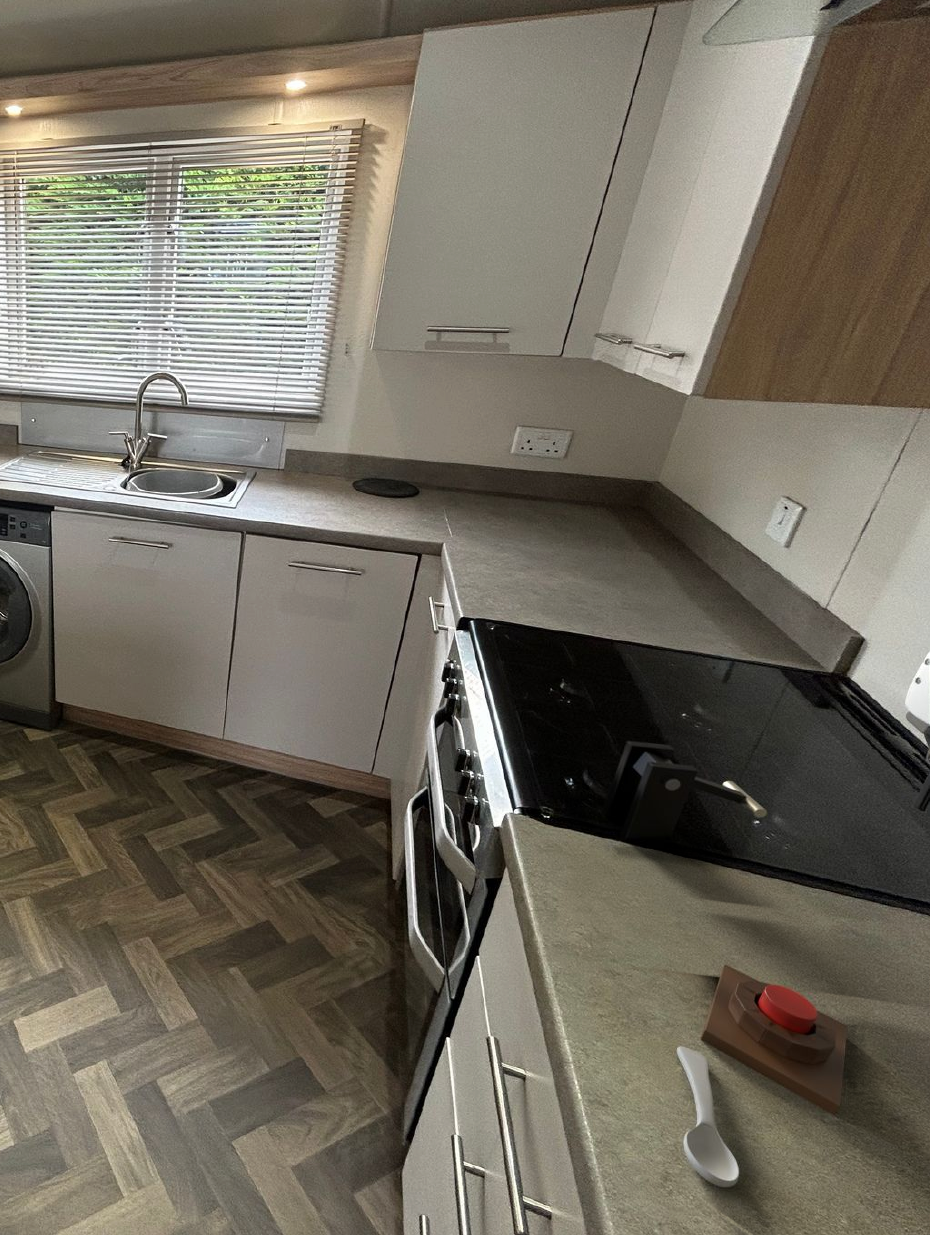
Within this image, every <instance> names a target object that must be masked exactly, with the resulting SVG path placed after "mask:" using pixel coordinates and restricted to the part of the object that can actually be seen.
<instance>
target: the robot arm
mask: <svg viewBox="0 0 930 1235" xmlns="http://www.w3.org/2000/svg"><path fill="white" fill-rule="evenodd" d="M904 701H905V702H904V703H905V704H904V705H905V708H906V709H907V710H908V711H907V713H906V714H905V719H906V721H907V722H909V723H910V725H912V726H913V727H914V728H915V729H916V730H918V731H919V733H921V734H923V736H924V739H925V742H926V744H927V747H928V749H927V753H926V756H925V760H926V763H927V764H928V765H929V766H930V651H929V652H928V653H927V654H926V656H925V658H924V659H923V661H922V662H921V665H920V666H919V668H918V669H917V672H916V673H915V676H914V677H913V679H912V681H911V683H910V686H909V688H908V690H907V693H906V696H905V700H904ZM912 805H913V808H916V809H917V810H918V811H920V812H925V815H926V816H927V817H929V818H930V772H928V774H927V776H926V778H925V779H924V782H923V783H922V786H921V788H920V790H919V792H918V794H917V795H916V798H915V799H914V801H913V804H912Z"/></svg>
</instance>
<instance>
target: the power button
mask: <svg viewBox="0 0 930 1235" xmlns="http://www.w3.org/2000/svg"><path fill="white" fill-rule="evenodd" d="M758 1007H759V1009H760V1011H761V1012H762V1013H763V1014H764V1015H765V1016H766V1017H768V1018H769V1019H770V1020H771V1021H773V1022H774V1023H775V1024H777V1025H779V1026H781V1027H783V1028H785V1029H787V1030H789V1031H791V1032H795V1033H799V1034H805V1033H808V1032H809V1031H810V1029H811V1027H812V1026H813V1024H814V1022H815V1020H816V1019H817V1017H818V1013H817V1011H818V1010H817V1008H816V1006H814V1005H813V1004H812V1002H811V1001H809V1000H808V998H806V997H805V996H804V995H802V994H800V993H799V992H796V991H794V990H793V989H791V988H788V987H786V986H783V985H778V984H772V985H768V986H766V987H765V989H764V991H763V993H762V995H761V997H760V999H759V1001H758Z"/></svg>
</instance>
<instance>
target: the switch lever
mask: <svg viewBox="0 0 930 1235" xmlns="http://www.w3.org/2000/svg"><path fill="white" fill-rule="evenodd" d="M648 761H649V762H659V763H669V764H674V762H672V760H669V759H667V758H664V757H661V756H658V755H655V754H652V753H649V752H646V751H645V752H644V753H643V754H642V756H641V757H640V758H639V759H638V761H637V762H636V763H635V764H634V766H633V768H634V769H635V770H636V771H637V772H638V773H639V774H640V775H641V776H643V773H644V771H645V768H646V765H647V763H648ZM691 788H693V789H697V790H699V791H703V792H705V793H708V794H711V795H714V796H716V797H720V798H721V799H725V800H728V801H731V802H734V803H737V804H740V805H741V806H743V807H744V808H745V809H746V810H747V811H748V812H749V813H750V814H751V815H753V816H754V818H756V819H757V818H758V819H761V818H764V817H766V816H767V814H768V812H767V809H765V808H764V807H763V806H762V805H760V803H758V802H757V801H756V800H754V798H752V797H751V796H750V795H749V794H748V793H747V792H745V791H744V790H743V789H742V788H741V787H740V786H739V785H737V784H736V783H735V782H734V781H732V780H726V781H724V782H723V783H722V784H719V783H717V782H714V781H710V780H708V779H704V778H702V777H699V776H696V777H695V780H694V782H693V784H692V787H691Z"/></svg>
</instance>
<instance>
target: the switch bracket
mask: <svg viewBox="0 0 930 1235" xmlns="http://www.w3.org/2000/svg"><path fill="white" fill-rule="evenodd" d="M645 751H646V752H649V753H652V754H655V755H658V756H661V757H664V758H667V759H669V760H670V761H672V760H671V759H672V757H673V755H674V752H675V749H674V748H673V747H672V746H671V745H669V744H661V743H651V742H643V741H642V742H641V741H631V740H627V741H626V743H625V746H624V748H623V752H622V755H621V756H620V760H619V763H618V766H617V768H616V771H615V774H614V777H613V779H612V782H611V784H610V787H609V789H608V793H607V795H606V798H605V801H604V804H603V806H602V809H601V812H600V813H601V814H602V816H603V817H604V818H606V819H612V820H622V821H624V822H623V825H622V828H621V830H620V834H619V837H620V838H621V839H622V840H623V841H624V842H629V843H637V844H638V843H639V844H647V845H653V846H655V845H656V846H663V847H664V846H665V847H667V846H668V845H669V842H670V839H671V837H672V836H673V833H674V830H675V828H676V825H677V823H678V820H679V818H680V816H681V813H682V811H683V808H684V806H685V804H686V801H687V799H688V796H689V794H690V792H691V789H692V788H693V787H692V784H693V782H694V780H695V777H697V775H698V772H699V771H698V769H696V767H694V766H693V765H686V764H680V763H679V764H677V763H673V764H669V763H659V762H649V761H648V763H647V765H646V768H645V771H644V773H643V776H641V775H640V774H639V773H638V772H637V771H636V770H635V769H634V768H633V766H634V764H635V763H636V762H637V761H638V759H639V758H640V757H641V756H642V754H643V753H644V752H645Z"/></svg>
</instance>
